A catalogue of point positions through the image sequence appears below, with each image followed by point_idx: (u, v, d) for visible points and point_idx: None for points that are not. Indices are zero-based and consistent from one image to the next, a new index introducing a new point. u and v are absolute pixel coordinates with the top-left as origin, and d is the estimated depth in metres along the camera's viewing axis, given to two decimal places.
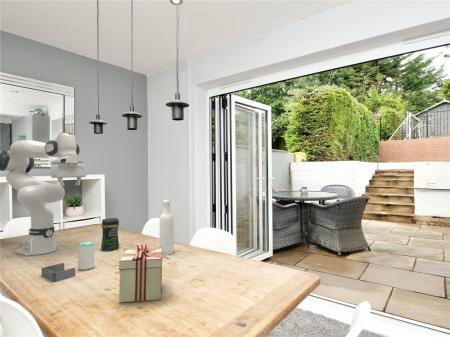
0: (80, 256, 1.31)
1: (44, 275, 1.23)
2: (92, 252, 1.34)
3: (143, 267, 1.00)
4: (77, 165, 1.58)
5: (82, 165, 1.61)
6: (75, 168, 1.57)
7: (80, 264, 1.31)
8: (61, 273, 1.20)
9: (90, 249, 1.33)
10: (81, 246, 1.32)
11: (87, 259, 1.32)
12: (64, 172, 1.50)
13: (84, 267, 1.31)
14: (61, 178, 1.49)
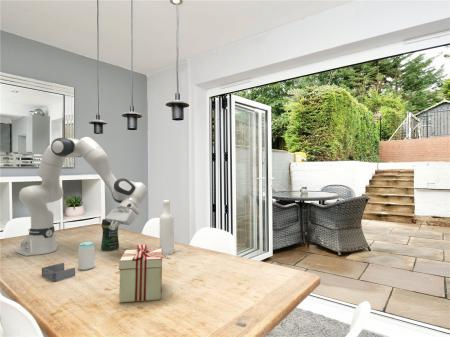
0: (80, 256, 1.31)
1: (44, 275, 1.23)
2: (92, 252, 1.34)
3: (143, 267, 1.00)
4: None
5: None
6: None
7: (80, 264, 1.31)
8: (61, 273, 1.20)
9: (90, 249, 1.33)
10: (81, 246, 1.32)
11: (87, 259, 1.32)
12: None
13: (84, 267, 1.31)
14: None
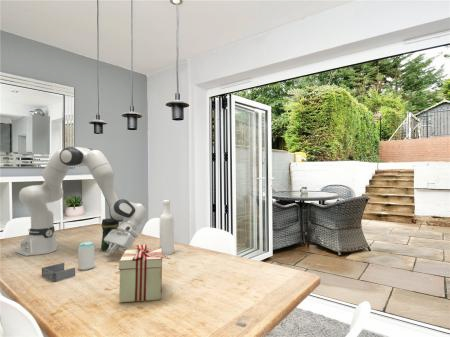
0: (80, 256, 1.31)
1: (44, 275, 1.23)
2: (92, 252, 1.34)
3: (143, 267, 1.00)
4: None
5: None
6: None
7: (80, 264, 1.31)
8: (61, 273, 1.20)
9: (90, 249, 1.33)
10: (81, 246, 1.32)
11: (87, 259, 1.32)
12: None
13: (84, 267, 1.31)
14: None
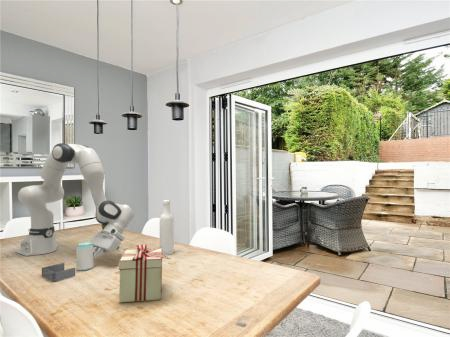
0: (78, 256, 1.31)
1: (44, 275, 1.23)
2: (90, 252, 1.33)
3: (143, 267, 1.00)
4: None
5: None
6: None
7: (78, 264, 1.31)
8: (61, 273, 1.20)
9: (88, 249, 1.32)
10: (79, 246, 1.31)
11: (85, 260, 1.31)
12: None
13: (82, 267, 1.31)
14: None
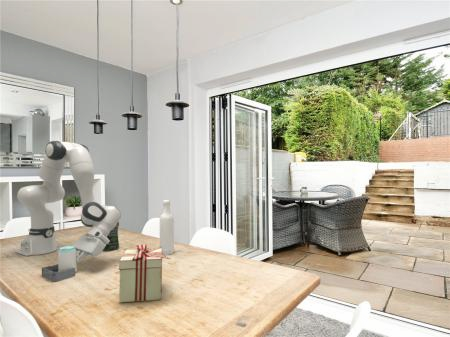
0: (60, 261, 1.24)
1: (44, 275, 1.23)
2: (73, 257, 1.27)
3: (143, 267, 1.00)
4: None
5: None
6: None
7: (60, 270, 1.24)
8: (61, 273, 1.20)
9: (71, 253, 1.26)
10: (61, 250, 1.25)
11: (68, 265, 1.25)
12: None
13: None
14: None
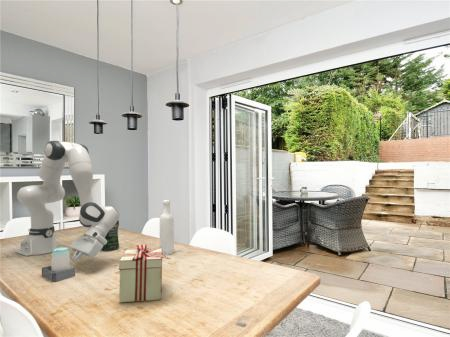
0: (54, 263, 1.22)
1: (44, 275, 1.23)
2: (67, 258, 1.25)
3: (143, 267, 1.00)
4: None
5: None
6: None
7: None
8: (61, 273, 1.20)
9: (64, 255, 1.23)
10: (55, 252, 1.22)
11: (61, 266, 1.22)
12: None
13: None
14: None
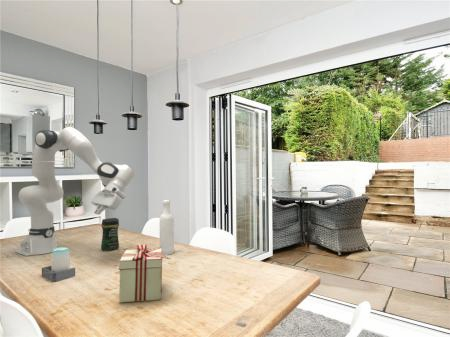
0: (54, 263, 1.22)
1: (44, 275, 1.23)
2: (67, 258, 1.25)
3: (143, 267, 1.00)
4: None
5: None
6: None
7: None
8: (61, 273, 1.20)
9: (64, 255, 1.23)
10: (55, 252, 1.22)
11: (61, 266, 1.22)
12: None
13: None
14: None
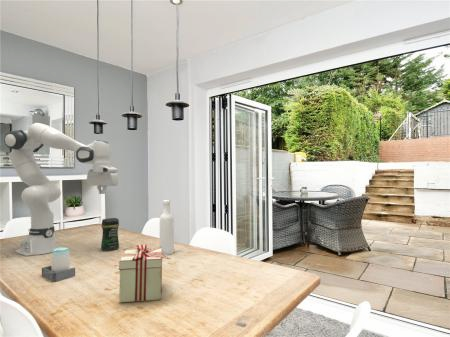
0: (54, 263, 1.22)
1: (44, 275, 1.23)
2: (67, 258, 1.25)
3: (143, 267, 1.00)
4: None
5: None
6: None
7: None
8: (61, 273, 1.20)
9: (64, 255, 1.23)
10: (55, 252, 1.22)
11: (61, 266, 1.22)
12: None
13: None
14: None
